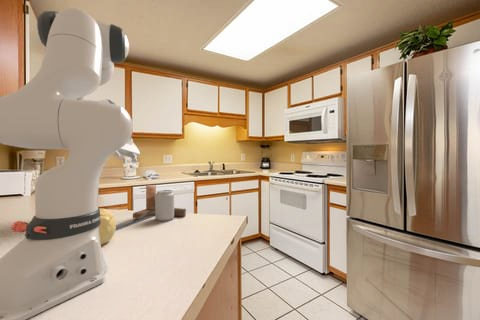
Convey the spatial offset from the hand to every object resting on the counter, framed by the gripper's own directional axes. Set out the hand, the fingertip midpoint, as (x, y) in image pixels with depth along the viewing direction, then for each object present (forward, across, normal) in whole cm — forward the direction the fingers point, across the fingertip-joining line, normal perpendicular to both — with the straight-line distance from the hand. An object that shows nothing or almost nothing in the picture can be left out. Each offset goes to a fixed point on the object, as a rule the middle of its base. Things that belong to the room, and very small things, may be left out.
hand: (128, 160), depth 100 cm
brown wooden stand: (+28, +5, +5) cm, 29 cm away
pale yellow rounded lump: (+31, -23, +11) cm, 40 cm away
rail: (+25, -1, +11) cm, 27 cm away
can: (+30, +6, +3) cm, 31 cm away
